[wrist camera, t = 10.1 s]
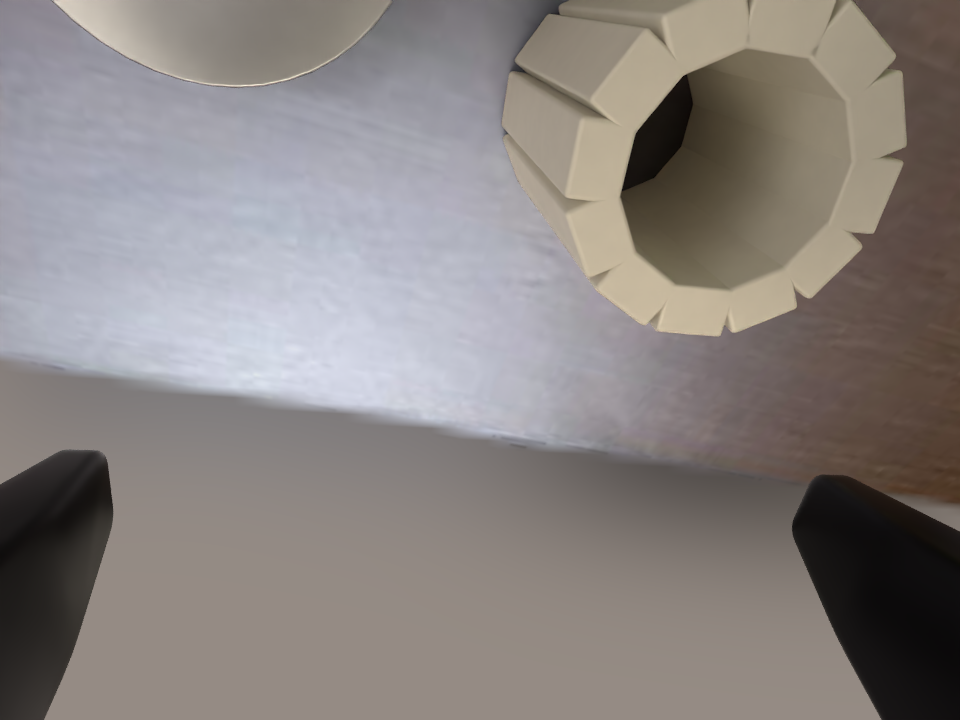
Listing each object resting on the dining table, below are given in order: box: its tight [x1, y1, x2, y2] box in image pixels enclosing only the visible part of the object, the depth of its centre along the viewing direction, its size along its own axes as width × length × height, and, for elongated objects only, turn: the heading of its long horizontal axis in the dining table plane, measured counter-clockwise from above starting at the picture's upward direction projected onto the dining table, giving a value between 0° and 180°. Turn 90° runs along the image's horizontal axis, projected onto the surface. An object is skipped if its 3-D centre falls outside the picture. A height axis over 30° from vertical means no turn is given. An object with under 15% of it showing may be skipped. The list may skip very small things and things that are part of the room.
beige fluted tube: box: [501, 0, 907, 336], centre depth 15 cm, size 6×6×7 cm
